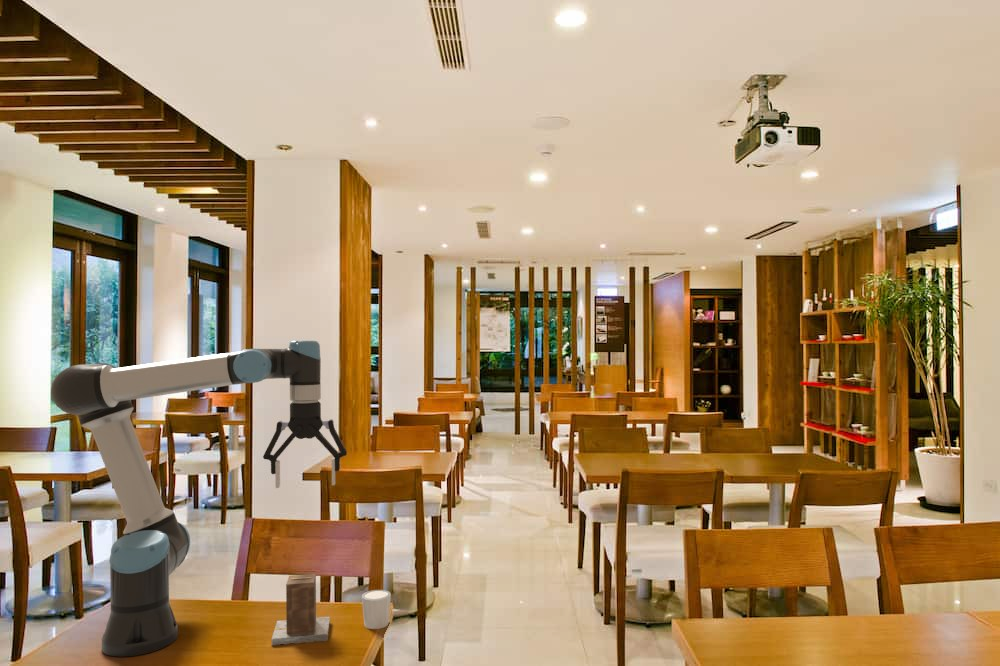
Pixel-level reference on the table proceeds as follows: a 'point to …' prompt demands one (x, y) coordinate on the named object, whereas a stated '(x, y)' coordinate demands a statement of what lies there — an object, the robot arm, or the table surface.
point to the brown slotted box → (301, 603)
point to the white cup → (376, 608)
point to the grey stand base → (316, 635)
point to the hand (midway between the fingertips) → (305, 485)
